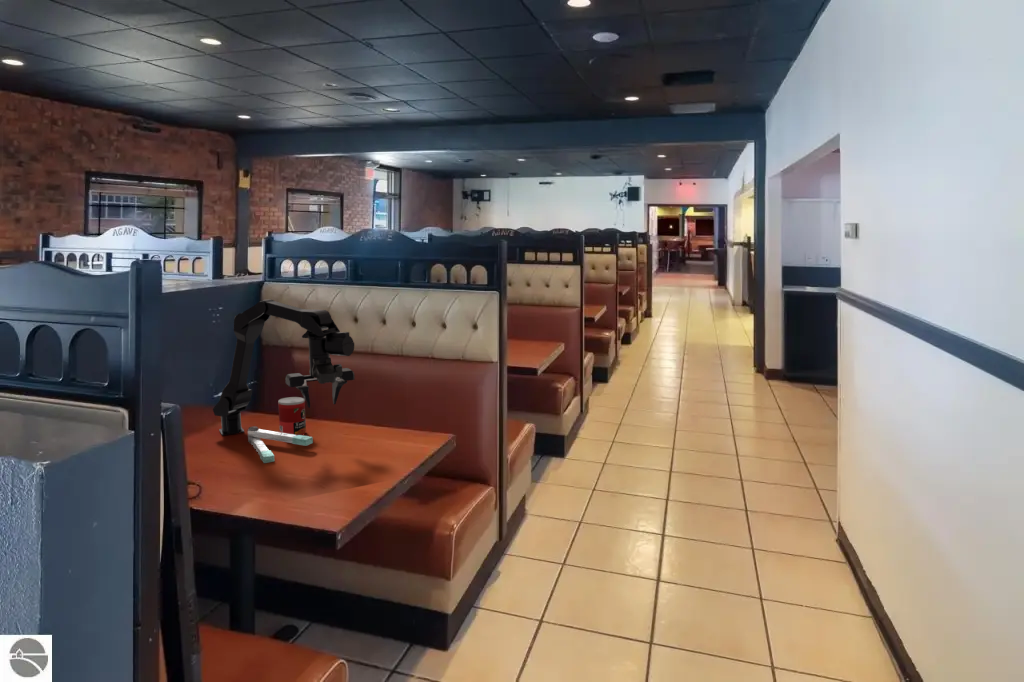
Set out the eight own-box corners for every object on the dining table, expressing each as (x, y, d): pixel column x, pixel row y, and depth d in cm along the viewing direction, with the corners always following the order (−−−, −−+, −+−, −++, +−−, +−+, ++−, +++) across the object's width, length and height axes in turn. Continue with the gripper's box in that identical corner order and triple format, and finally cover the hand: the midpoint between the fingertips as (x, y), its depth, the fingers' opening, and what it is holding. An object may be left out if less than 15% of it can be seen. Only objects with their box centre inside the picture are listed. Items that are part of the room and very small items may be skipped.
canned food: (298, 438, 197) (296, 403, 195) (274, 436, 198) (272, 402, 197) (310, 431, 204) (309, 397, 202) (288, 429, 206) (286, 396, 204)
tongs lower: (247, 441, 194) (247, 435, 193) (258, 439, 195) (258, 433, 195) (263, 463, 175) (262, 457, 175) (275, 461, 177) (274, 455, 176)
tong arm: (245, 436, 192) (245, 428, 192) (253, 433, 195) (253, 425, 195) (305, 446, 183) (305, 437, 183) (313, 442, 186) (312, 434, 186)
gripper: (293, 361, 174) (296, 416, 177) (359, 354, 184) (361, 407, 187) (283, 355, 184) (286, 407, 186) (347, 349, 193) (349, 399, 196)
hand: (321, 405), depth 188 cm, fingers open, 7 cm apart
